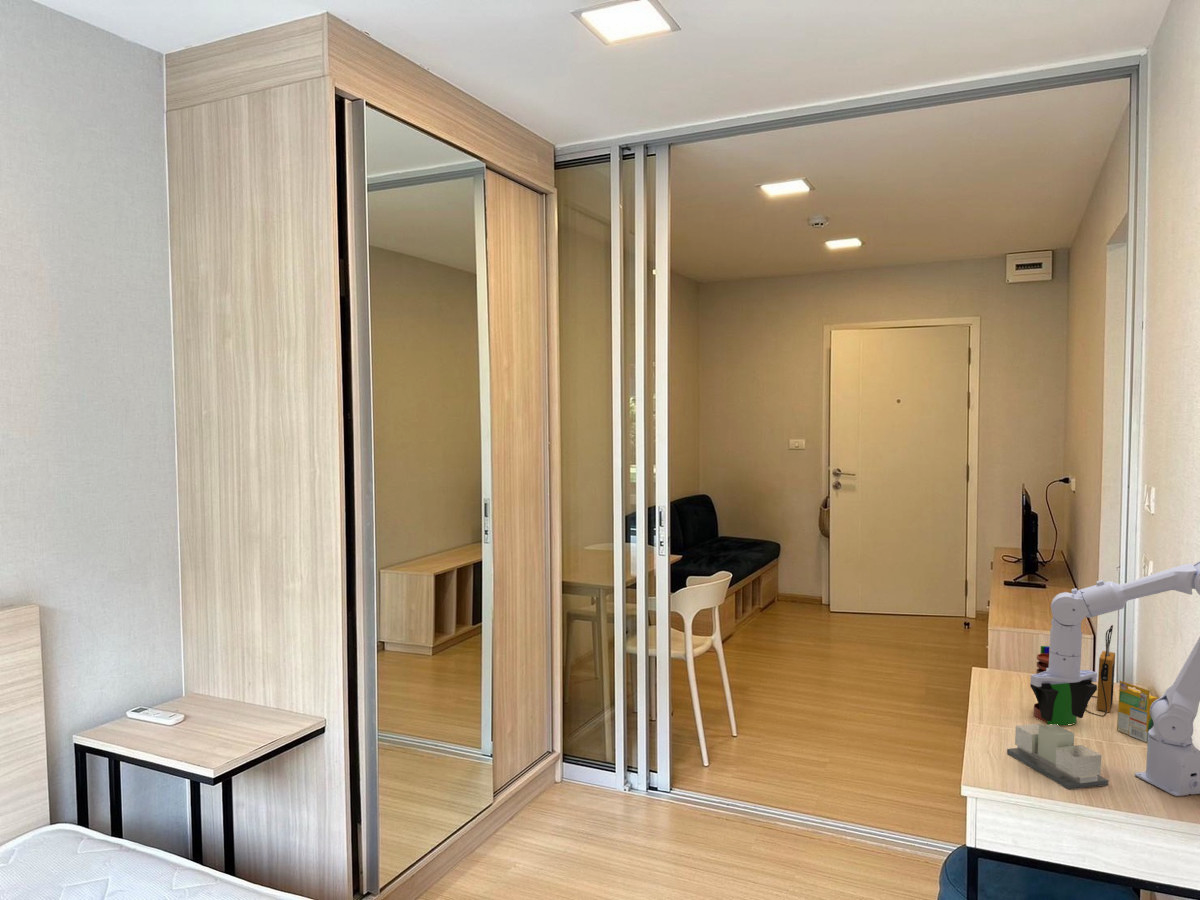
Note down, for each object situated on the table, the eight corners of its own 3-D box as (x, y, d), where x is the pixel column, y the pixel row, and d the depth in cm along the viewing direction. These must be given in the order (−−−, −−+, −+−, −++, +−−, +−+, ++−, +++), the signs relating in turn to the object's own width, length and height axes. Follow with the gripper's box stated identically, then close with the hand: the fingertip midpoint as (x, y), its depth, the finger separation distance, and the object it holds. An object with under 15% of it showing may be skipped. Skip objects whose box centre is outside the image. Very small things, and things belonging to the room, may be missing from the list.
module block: (1072, 762, 173) (1074, 733, 172) (1055, 764, 172) (1057, 735, 171) (1054, 752, 177) (1055, 724, 177) (1037, 754, 176) (1039, 725, 176)
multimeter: (1069, 692, 221) (1073, 615, 220) (1114, 700, 215) (1118, 621, 214) (1060, 708, 209) (1064, 627, 208) (1107, 718, 203) (1112, 634, 202)
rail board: (1107, 785, 167) (1109, 754, 167) (1068, 789, 165) (1070, 758, 165) (1043, 750, 184) (1044, 722, 183) (1007, 753, 182) (1008, 725, 181)
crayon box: (1156, 741, 190) (1159, 689, 189) (1146, 743, 188) (1149, 690, 188) (1125, 729, 196) (1128, 679, 196) (1116, 730, 195) (1118, 680, 195)
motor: (1025, 709, 208) (1029, 627, 207) (1062, 710, 208) (1066, 628, 206) (1045, 725, 198) (1049, 639, 196) (1085, 726, 197) (1089, 640, 196)
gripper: (1079, 644, 182) (1075, 708, 183) (1020, 649, 178) (1017, 713, 179) (1106, 654, 175) (1103, 720, 176) (1046, 659, 171) (1043, 726, 172)
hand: (1061, 717), depth 177 cm, fingers open, 7 cm apart
